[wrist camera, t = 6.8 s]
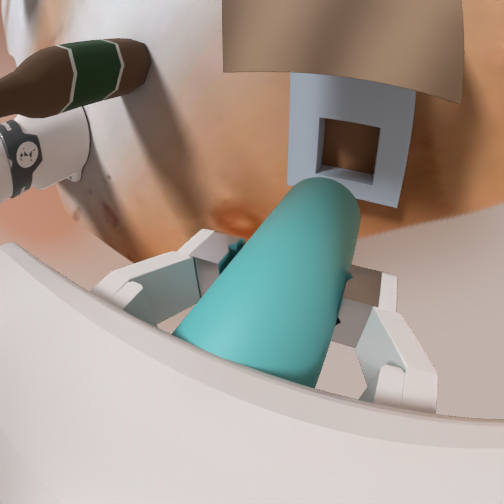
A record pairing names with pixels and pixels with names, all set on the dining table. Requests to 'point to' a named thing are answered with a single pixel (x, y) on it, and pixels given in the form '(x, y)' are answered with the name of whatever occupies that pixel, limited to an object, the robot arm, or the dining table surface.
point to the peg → (283, 286)
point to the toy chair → (350, 41)
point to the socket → (357, 111)
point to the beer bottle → (73, 77)
